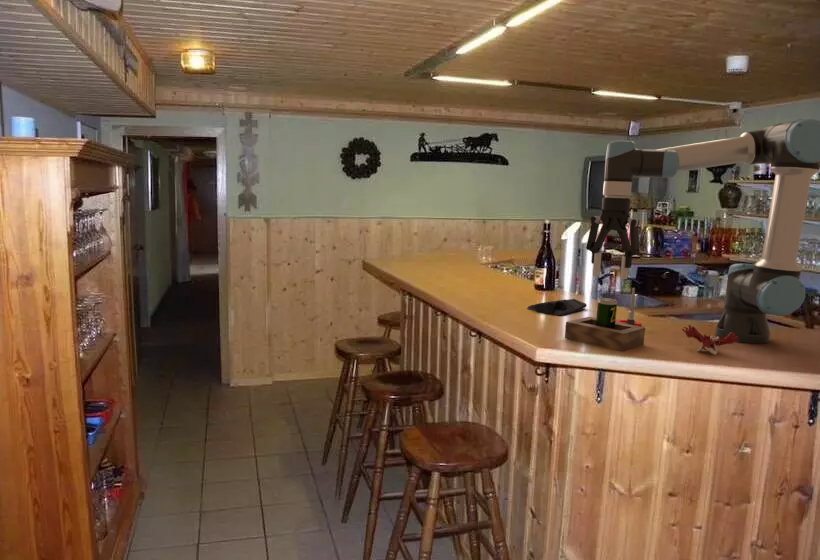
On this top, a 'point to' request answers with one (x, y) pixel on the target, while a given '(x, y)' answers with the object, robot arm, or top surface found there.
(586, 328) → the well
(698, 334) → the figurine
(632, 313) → the grey and red post
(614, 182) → the robot arm
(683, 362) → the top surface
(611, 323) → the beer can
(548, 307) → the dark slate chunk
